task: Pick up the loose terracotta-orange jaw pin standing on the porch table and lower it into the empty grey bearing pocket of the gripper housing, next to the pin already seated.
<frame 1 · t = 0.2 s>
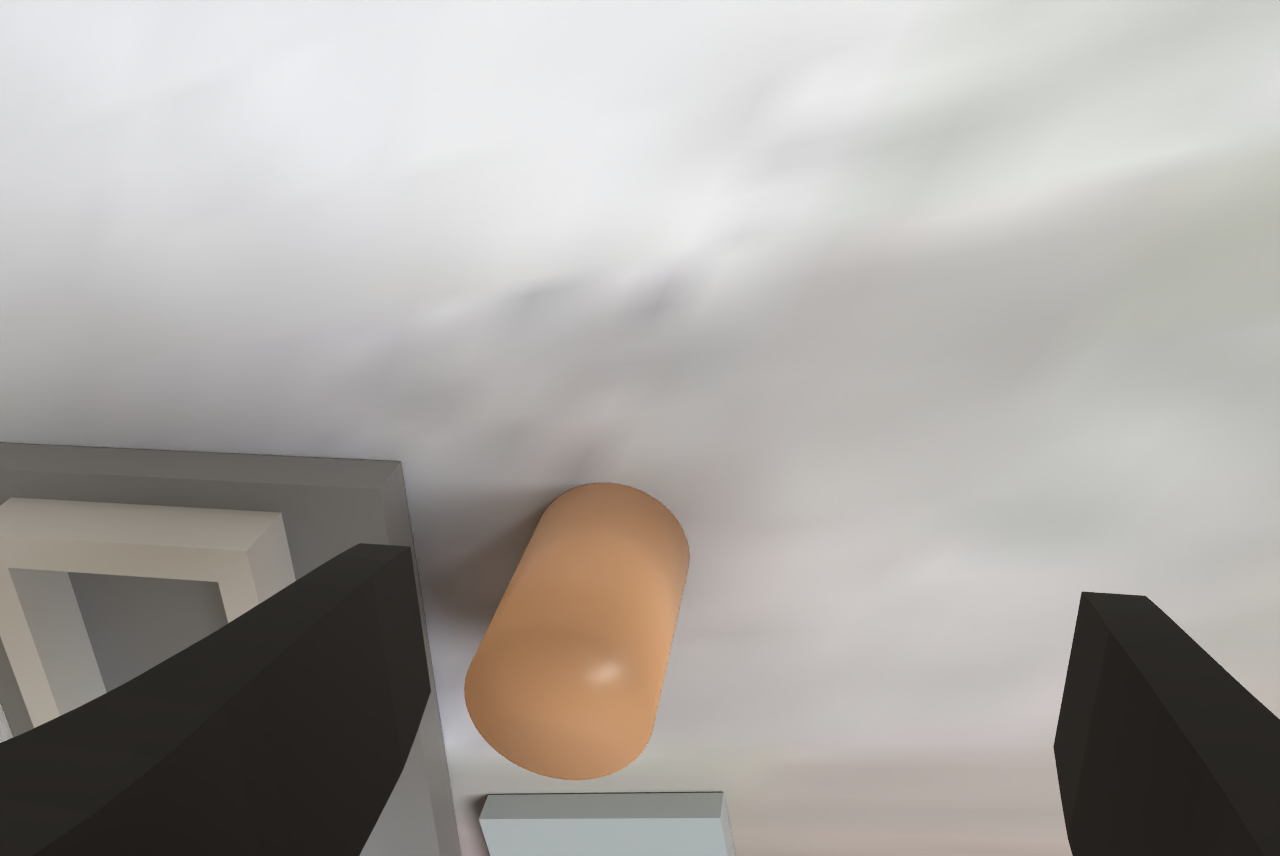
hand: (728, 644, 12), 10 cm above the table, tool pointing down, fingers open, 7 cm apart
housing: (235, 713, 27), on the table
jaw pin 1: (611, 551, 23), on the table
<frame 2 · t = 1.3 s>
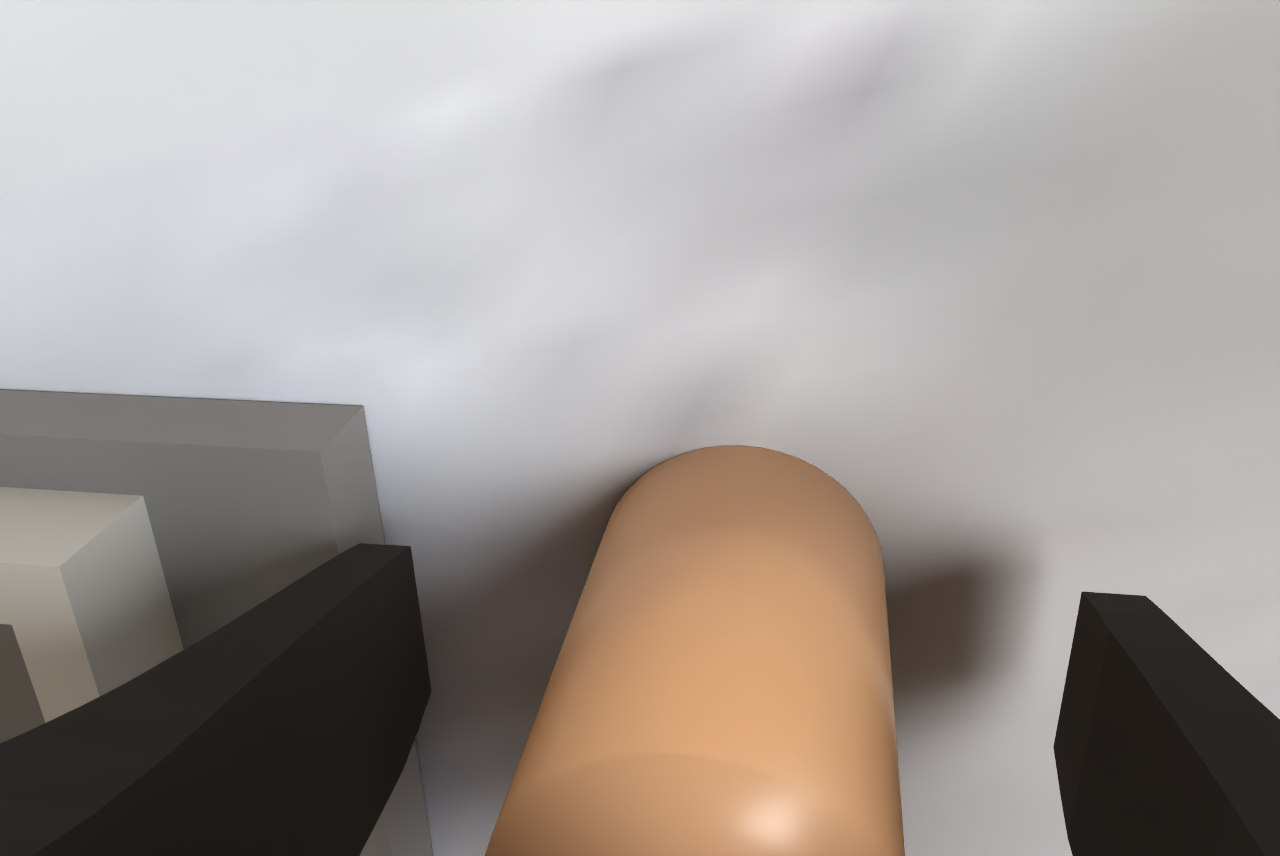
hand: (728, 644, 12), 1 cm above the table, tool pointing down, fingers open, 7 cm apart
housing: (101, 823, 17), on the table
jaw pin 1: (739, 571, 13), on the table
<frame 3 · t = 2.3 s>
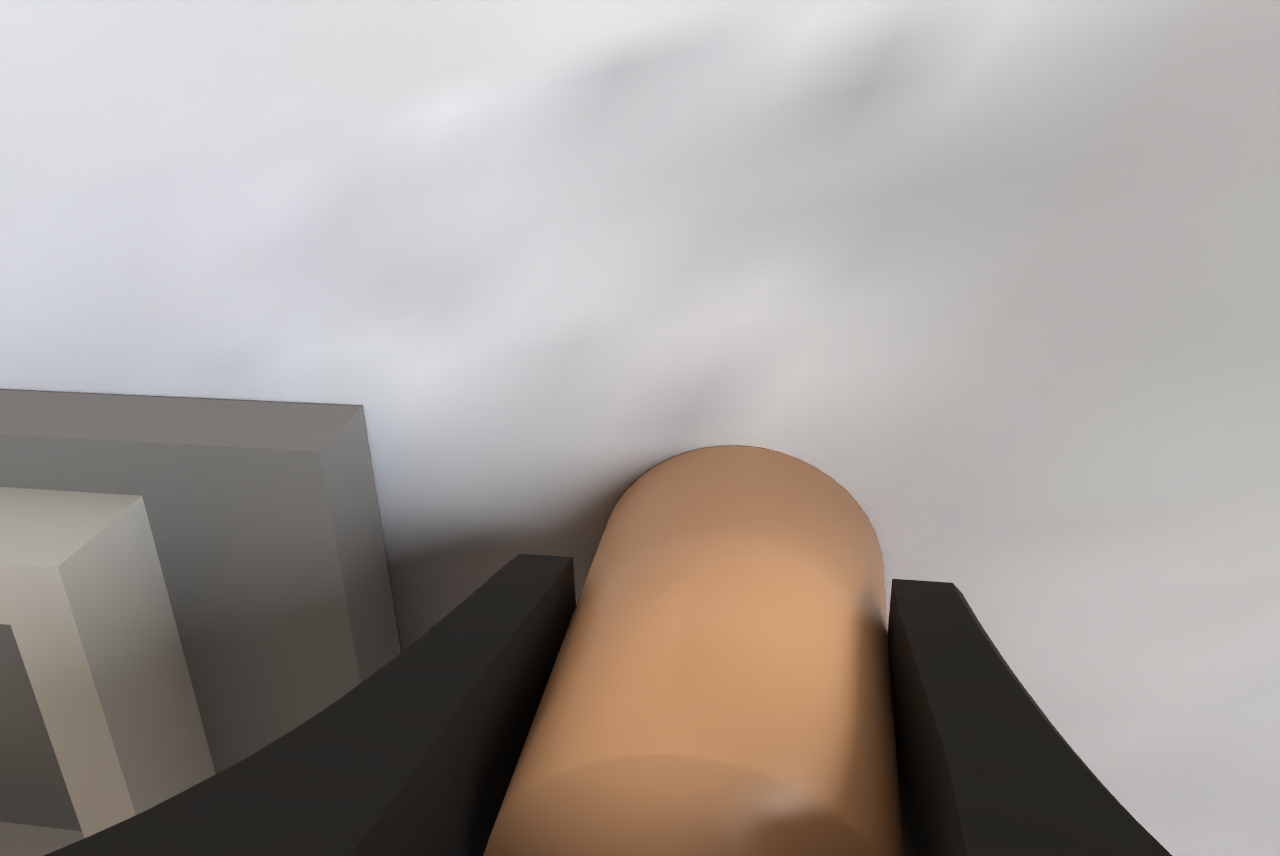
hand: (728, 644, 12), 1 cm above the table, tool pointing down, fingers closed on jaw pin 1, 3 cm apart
housing: (100, 823, 17), on the table
jaw pin 1: (739, 571, 13), on the table, touching gripper
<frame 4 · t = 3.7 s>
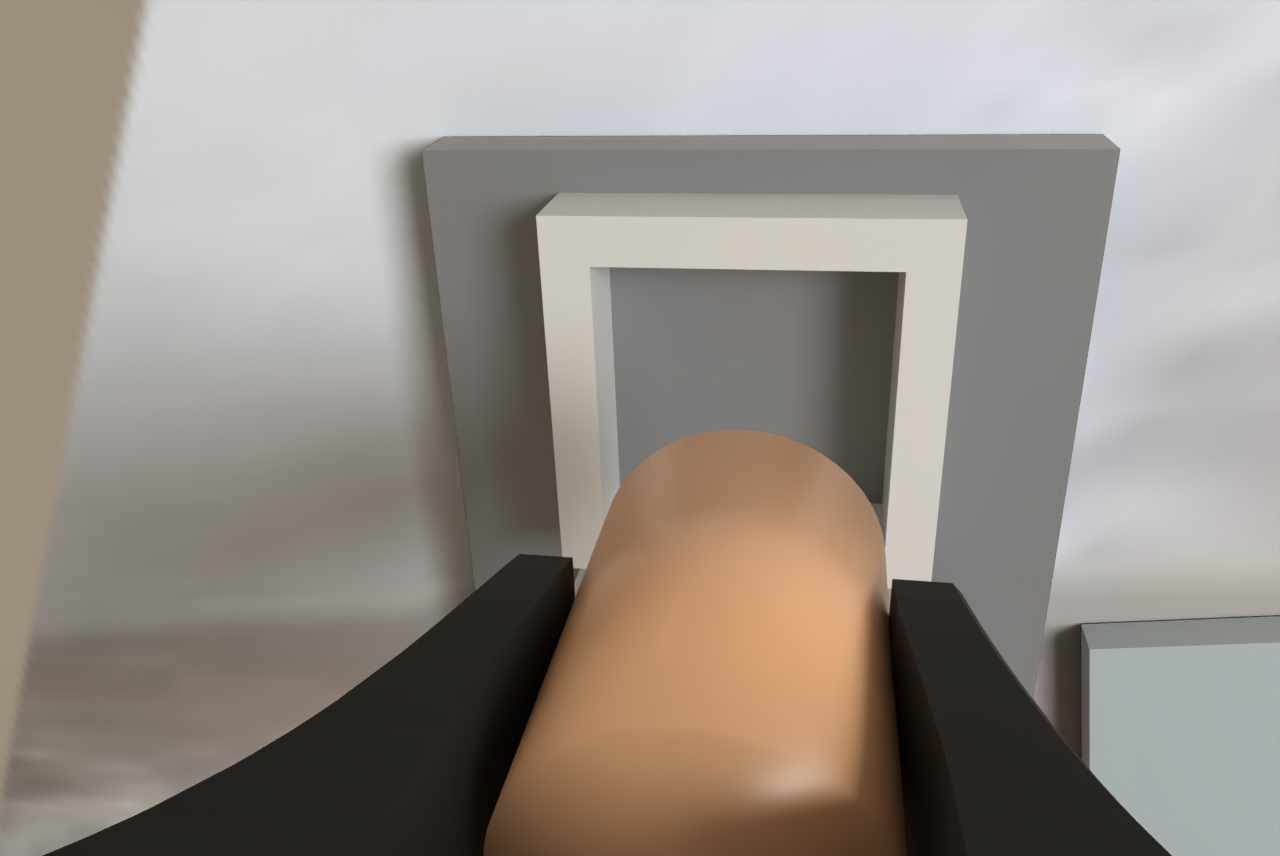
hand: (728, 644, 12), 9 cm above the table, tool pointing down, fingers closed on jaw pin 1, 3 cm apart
housing: (752, 520, 21), on the table
jaw pin 1: (741, 556, 13), point 7 cm above the table, touching gripper
lid: (1236, 778, 22), on the table
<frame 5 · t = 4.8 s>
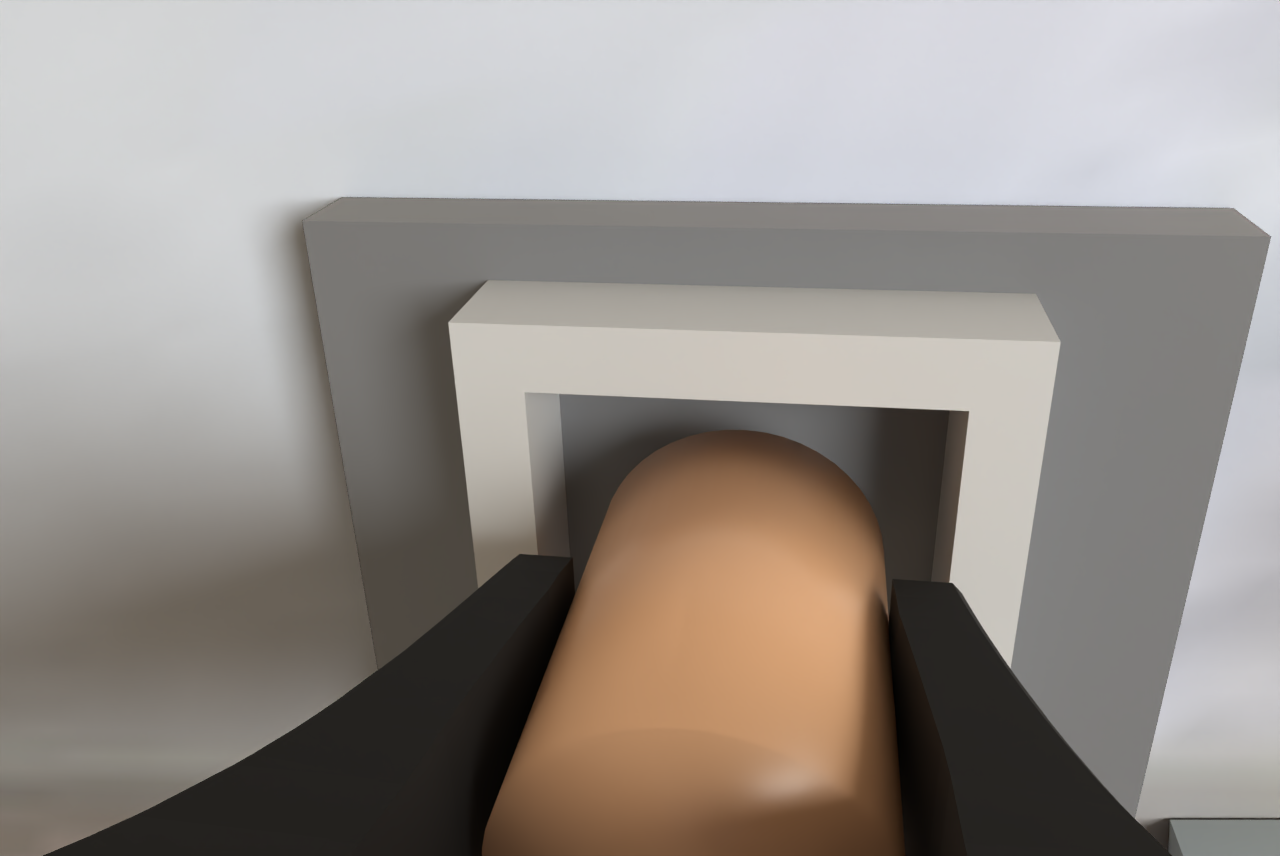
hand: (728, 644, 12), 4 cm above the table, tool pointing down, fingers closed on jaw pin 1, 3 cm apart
housing: (748, 682, 17), on the table
jaw pin 1: (740, 556, 13), point 2 cm above the table, touching gripper
when the fingers open (4 cm above the table, at t = 5.4 s): jaw pin 1 drops 1 cm, resting on housing.
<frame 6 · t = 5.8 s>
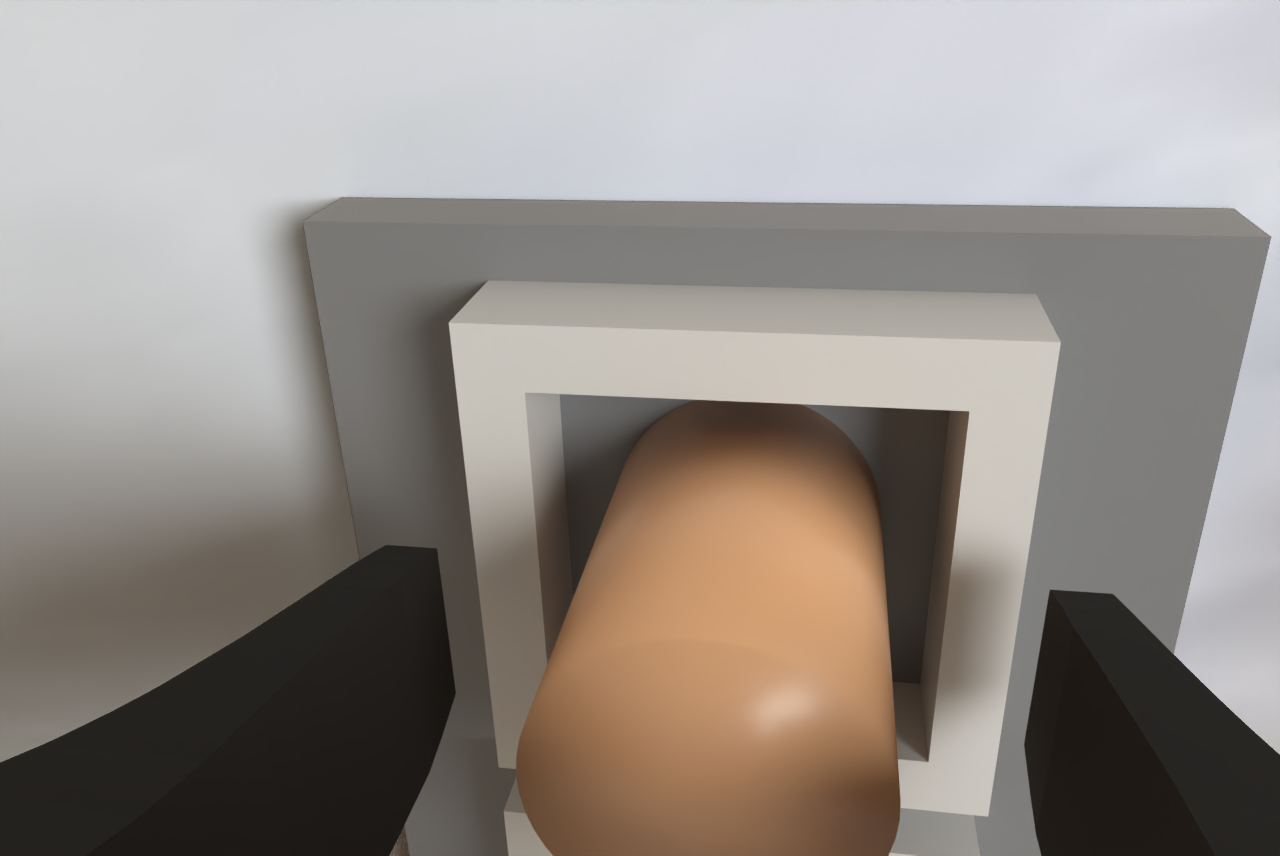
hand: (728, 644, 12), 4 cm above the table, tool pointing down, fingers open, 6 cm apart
housing: (749, 682, 17), on the table
jaw pin 1: (746, 512, 14), point 1 cm above the table, touching housing
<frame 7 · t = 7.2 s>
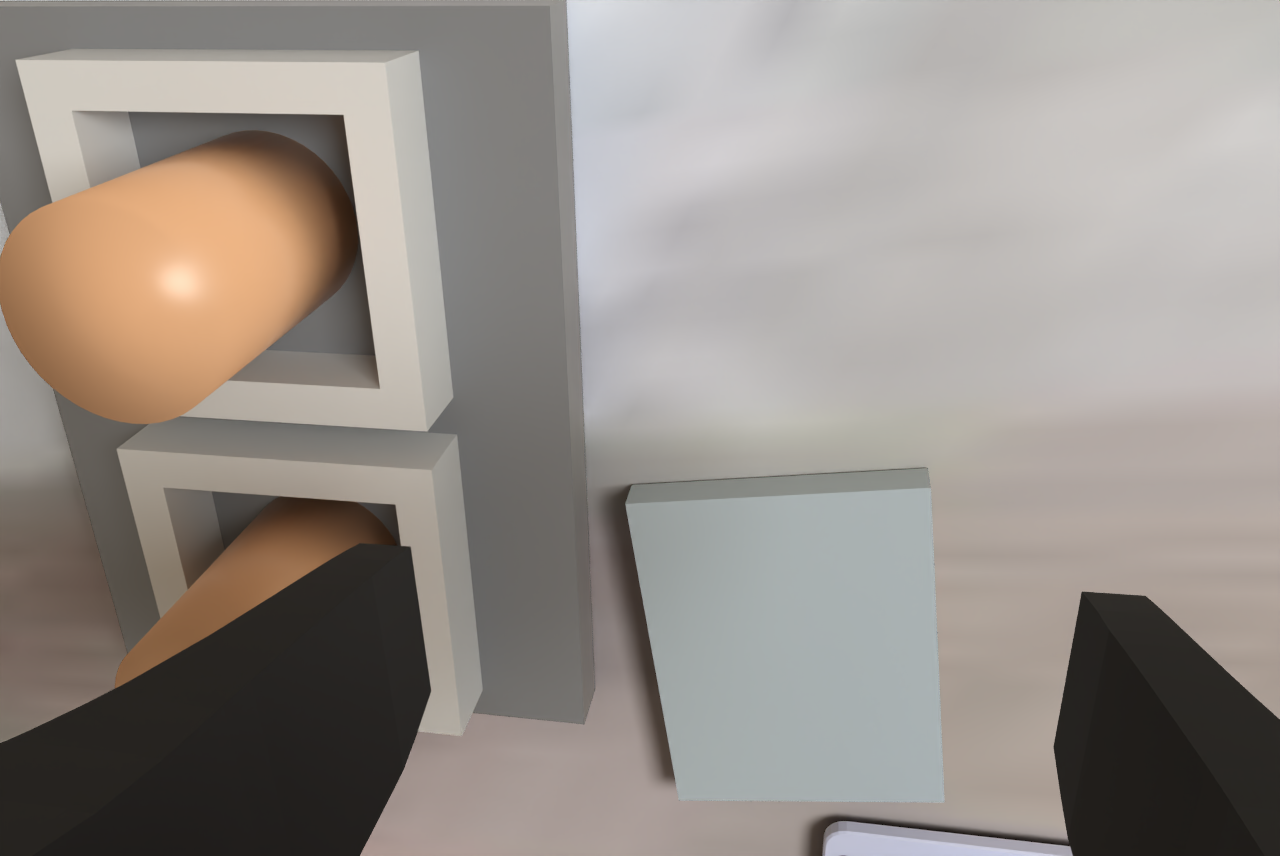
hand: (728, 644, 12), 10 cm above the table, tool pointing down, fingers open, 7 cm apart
housing: (327, 383, 22), on the table
jaw pin 1: (269, 223, 20), point 1 cm above the table, touching housing
lid: (793, 636, 23), on the table
jaw pin 2: (327, 558, 23), point 1 cm above the table, touching housing
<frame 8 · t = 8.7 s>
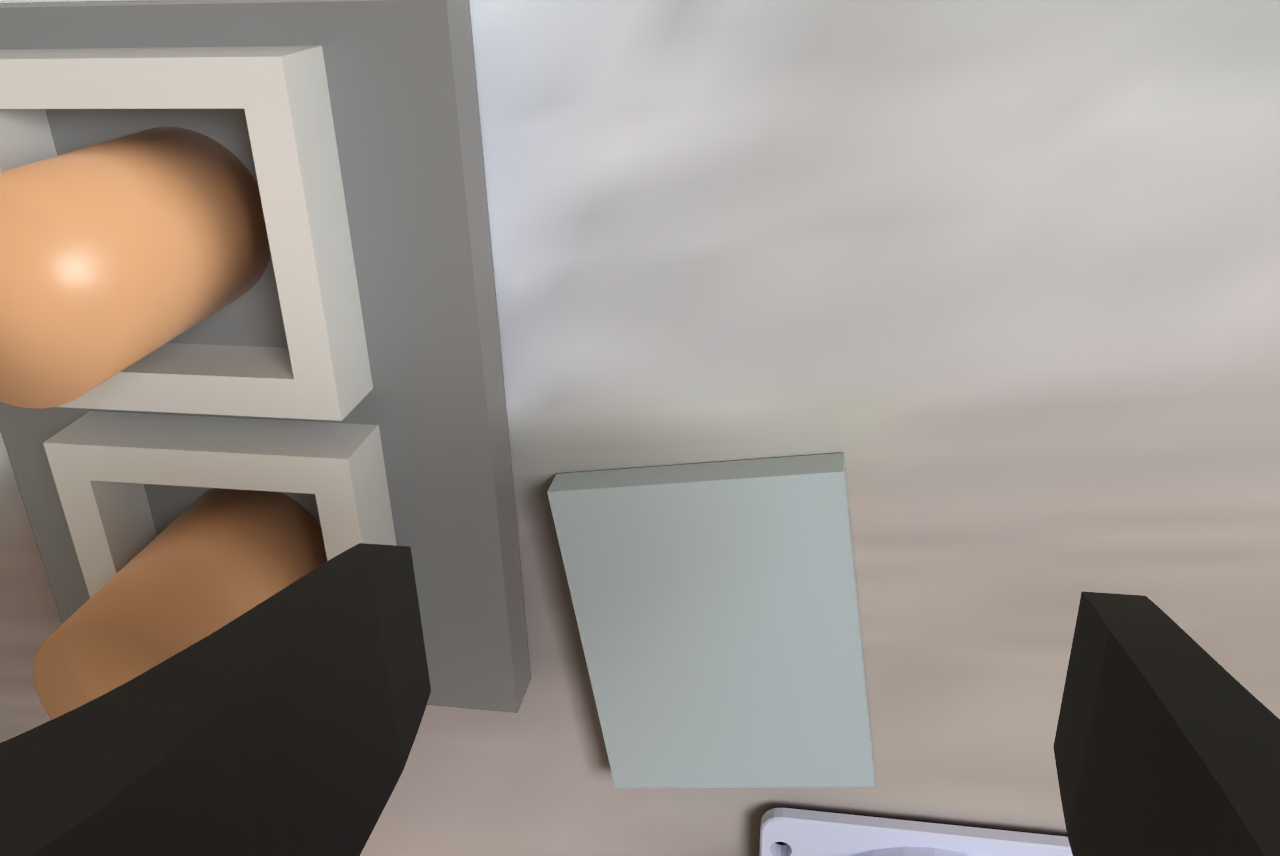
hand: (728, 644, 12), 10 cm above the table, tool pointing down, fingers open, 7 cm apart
housing: (255, 376, 23), on the table
jaw pin 1: (186, 219, 20), point 1 cm above the table, touching housing
lid: (721, 623, 24), on the table
jaw pin 2: (259, 550, 23), point 1 cm above the table, touching housing
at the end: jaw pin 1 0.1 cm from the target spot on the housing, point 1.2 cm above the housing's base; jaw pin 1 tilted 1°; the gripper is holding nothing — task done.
